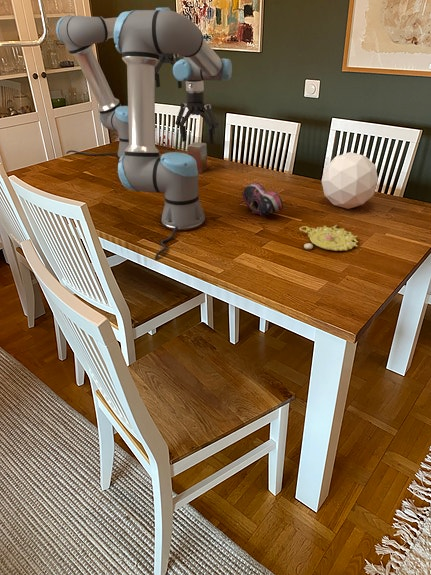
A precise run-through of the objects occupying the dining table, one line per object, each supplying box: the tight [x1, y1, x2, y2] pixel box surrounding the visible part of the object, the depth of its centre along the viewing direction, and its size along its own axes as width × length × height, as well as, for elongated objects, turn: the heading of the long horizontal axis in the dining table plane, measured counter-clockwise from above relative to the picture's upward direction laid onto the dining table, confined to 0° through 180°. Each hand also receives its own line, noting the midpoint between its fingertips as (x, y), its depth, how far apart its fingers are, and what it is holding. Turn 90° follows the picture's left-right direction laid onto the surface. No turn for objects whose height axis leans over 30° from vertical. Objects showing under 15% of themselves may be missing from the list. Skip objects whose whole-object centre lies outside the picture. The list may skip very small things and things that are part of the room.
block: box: [187, 141, 208, 174], centre depth 202 cm, size 6×6×12 cm
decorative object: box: [299, 224, 359, 252], centre depth 141 cm, size 21×2×20 cm
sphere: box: [320, 151, 379, 210], centre depth 160 cm, size 19×20×20 cm
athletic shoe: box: [238, 182, 284, 217], centre depth 160 cm, size 11×22×12 cm
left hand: (169, 87), depth 239 cm, fingers open, 13 cm apart
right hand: (197, 142), depth 198 cm, fingers open, 13 cm apart
